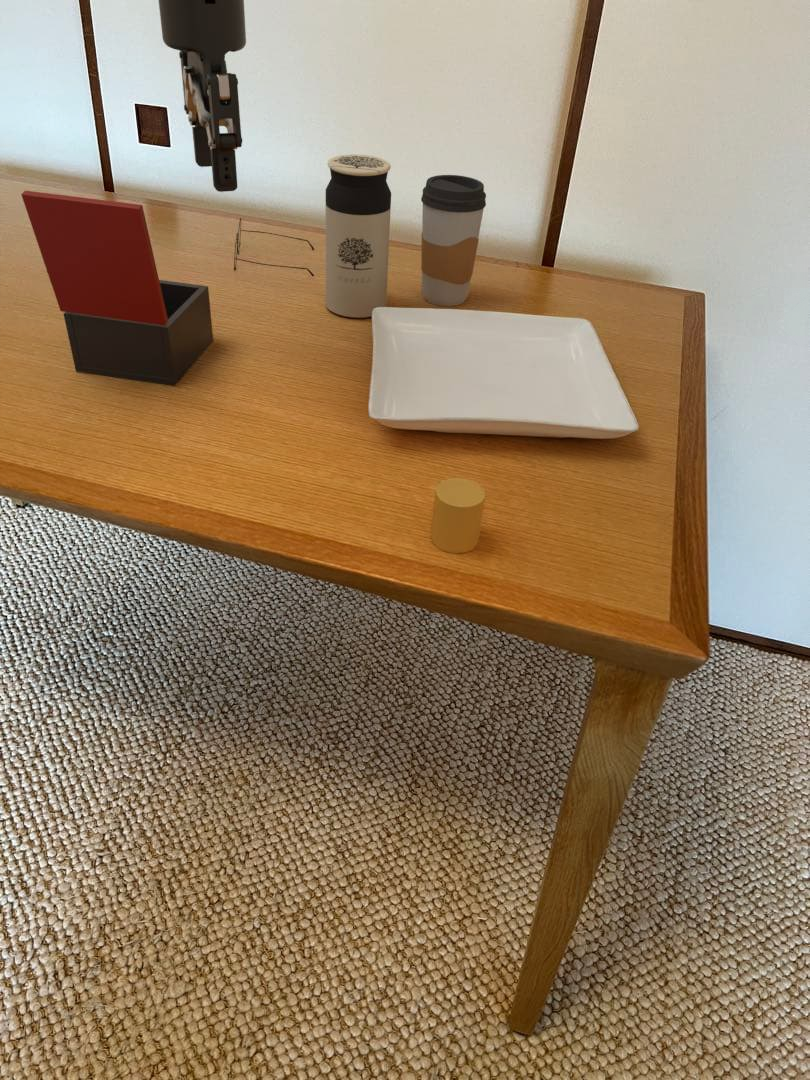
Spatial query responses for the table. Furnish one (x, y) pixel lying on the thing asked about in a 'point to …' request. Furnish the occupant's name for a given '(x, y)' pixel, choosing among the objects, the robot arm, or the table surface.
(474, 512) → the mustard yellow cylinder
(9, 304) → the table surface
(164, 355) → the open box
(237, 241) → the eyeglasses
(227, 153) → the robot arm
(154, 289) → the box lid
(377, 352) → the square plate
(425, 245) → the coffee cup
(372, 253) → the travel mug
